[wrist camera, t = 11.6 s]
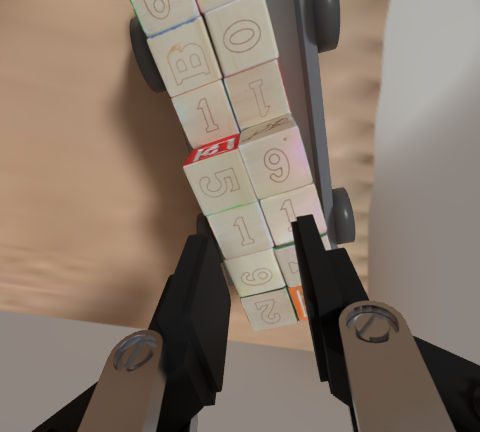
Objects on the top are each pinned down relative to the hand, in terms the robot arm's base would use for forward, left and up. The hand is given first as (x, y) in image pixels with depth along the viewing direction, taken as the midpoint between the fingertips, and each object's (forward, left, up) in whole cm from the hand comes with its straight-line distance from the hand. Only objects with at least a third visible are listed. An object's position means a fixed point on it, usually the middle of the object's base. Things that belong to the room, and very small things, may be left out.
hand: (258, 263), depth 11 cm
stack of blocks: (-1, 0, -18) cm, 18 cm away
